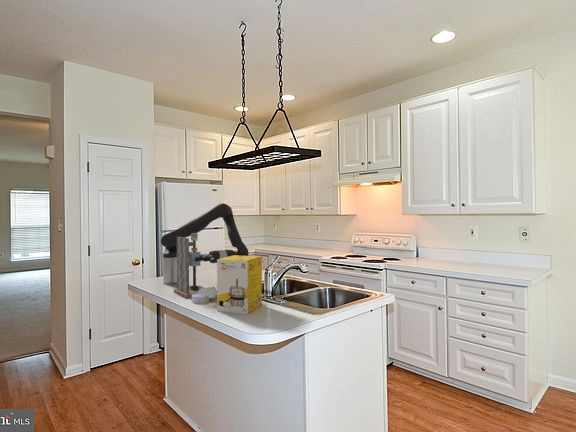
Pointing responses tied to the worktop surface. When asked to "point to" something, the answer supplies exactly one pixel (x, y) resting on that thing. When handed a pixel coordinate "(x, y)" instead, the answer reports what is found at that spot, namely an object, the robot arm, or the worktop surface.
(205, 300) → the wedge on round base
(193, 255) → the sleeve
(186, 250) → the grey rod stand
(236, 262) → the packaging box
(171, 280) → the robot arm
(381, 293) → the worktop surface
